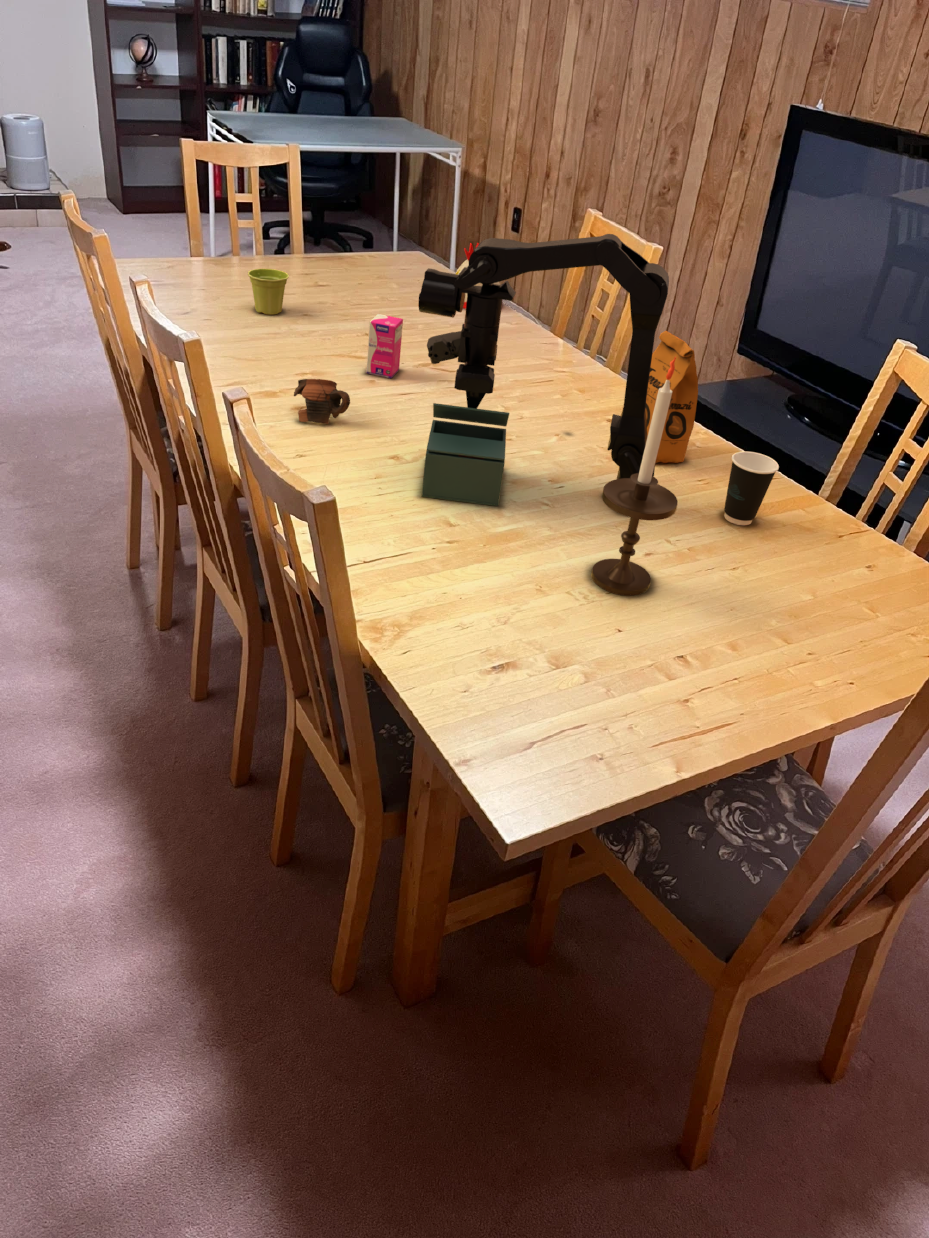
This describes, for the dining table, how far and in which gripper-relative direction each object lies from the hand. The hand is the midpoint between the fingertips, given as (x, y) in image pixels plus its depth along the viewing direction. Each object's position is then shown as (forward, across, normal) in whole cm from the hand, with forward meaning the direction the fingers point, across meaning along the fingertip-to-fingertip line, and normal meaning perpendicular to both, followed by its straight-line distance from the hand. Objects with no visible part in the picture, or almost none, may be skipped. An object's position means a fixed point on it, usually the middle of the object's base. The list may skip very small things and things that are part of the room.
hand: (471, 412), depth 167 cm
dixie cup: (+12, +4, +48) cm, 50 cm away
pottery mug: (+12, -16, -28) cm, 35 cm away
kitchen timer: (+12, -101, -3) cm, 102 cm away
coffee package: (+12, -20, +36) cm, 43 cm away
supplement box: (+12, -43, -20) cm, 49 cm away
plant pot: (+12, -73, -51) cm, 90 cm away
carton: (+11, +4, 0) cm, 12 cm away
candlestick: (+12, +30, +26) cm, 41 cm away
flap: (+1, 0, 0) cm, 1 cm away
